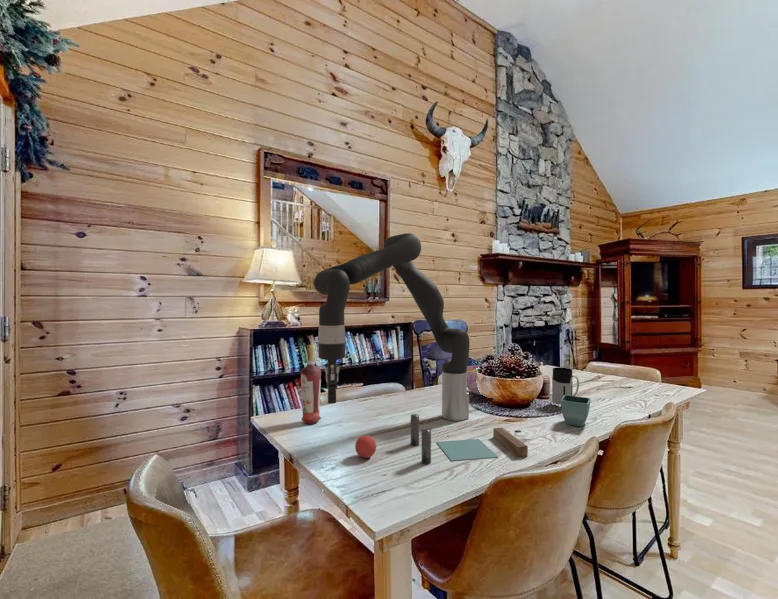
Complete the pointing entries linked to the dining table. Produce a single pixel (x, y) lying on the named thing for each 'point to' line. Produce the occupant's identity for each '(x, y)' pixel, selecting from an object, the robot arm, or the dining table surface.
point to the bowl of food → (472, 379)
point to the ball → (365, 446)
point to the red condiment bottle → (311, 389)
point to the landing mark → (466, 449)
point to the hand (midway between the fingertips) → (331, 402)
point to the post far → (414, 430)
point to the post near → (426, 445)
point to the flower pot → (575, 409)
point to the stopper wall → (510, 442)
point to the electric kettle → (562, 384)
